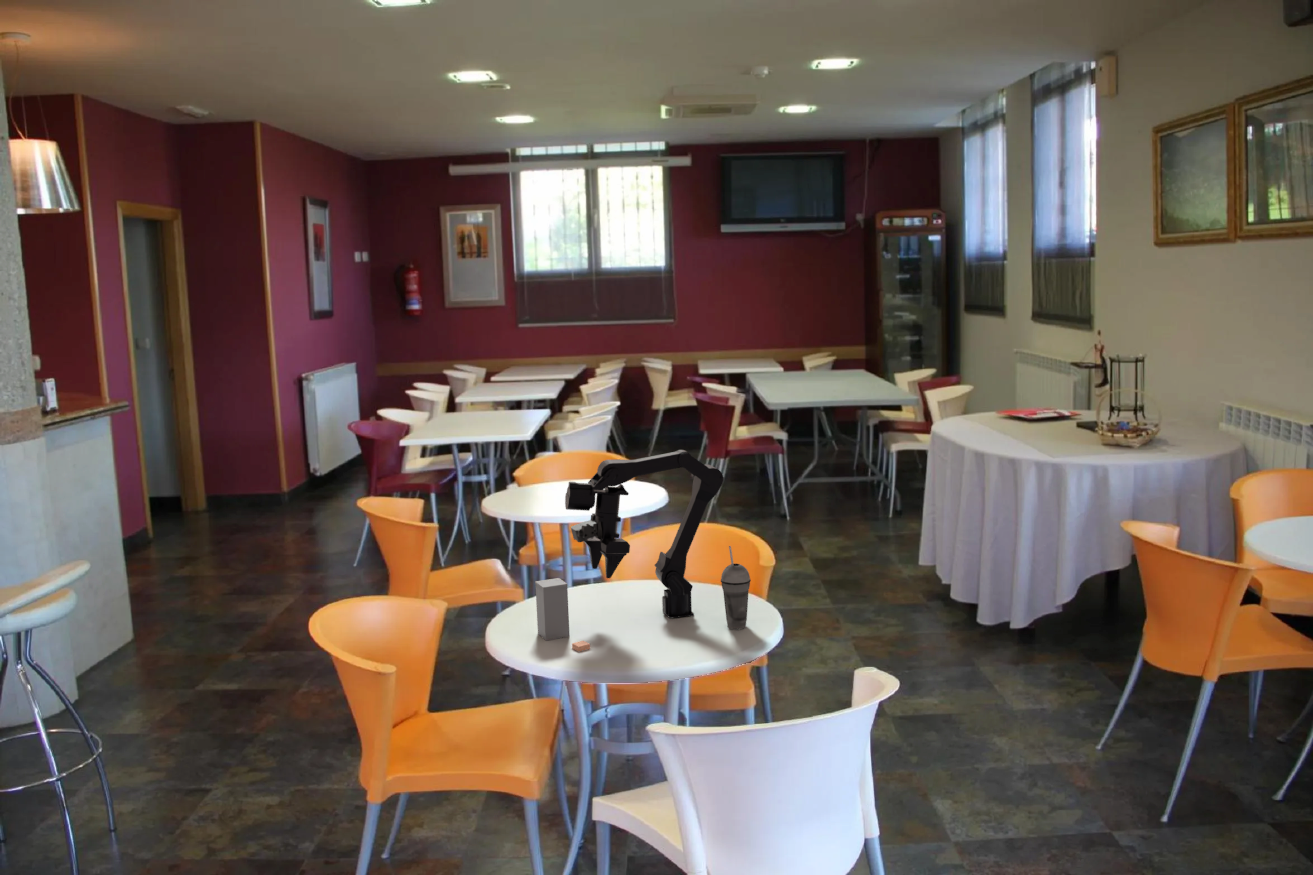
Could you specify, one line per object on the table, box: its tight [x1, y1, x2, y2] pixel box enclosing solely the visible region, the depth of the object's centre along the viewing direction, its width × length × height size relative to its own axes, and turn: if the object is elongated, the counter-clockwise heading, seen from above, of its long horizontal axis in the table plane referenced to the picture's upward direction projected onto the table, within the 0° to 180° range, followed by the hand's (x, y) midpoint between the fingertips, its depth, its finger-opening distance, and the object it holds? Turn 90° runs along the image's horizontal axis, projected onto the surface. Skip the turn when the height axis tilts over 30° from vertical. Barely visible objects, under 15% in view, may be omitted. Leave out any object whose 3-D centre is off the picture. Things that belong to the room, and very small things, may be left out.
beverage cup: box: [720, 545, 751, 630], centre depth 261 cm, size 7×7×20 cm
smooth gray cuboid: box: [535, 577, 570, 641], centre depth 260 cm, size 6×6×13 cm
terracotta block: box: [571, 640, 591, 652], centre depth 250 cm, size 3×3×2 cm
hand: (601, 573), depth 268 cm, fingers open, 9 cm apart
